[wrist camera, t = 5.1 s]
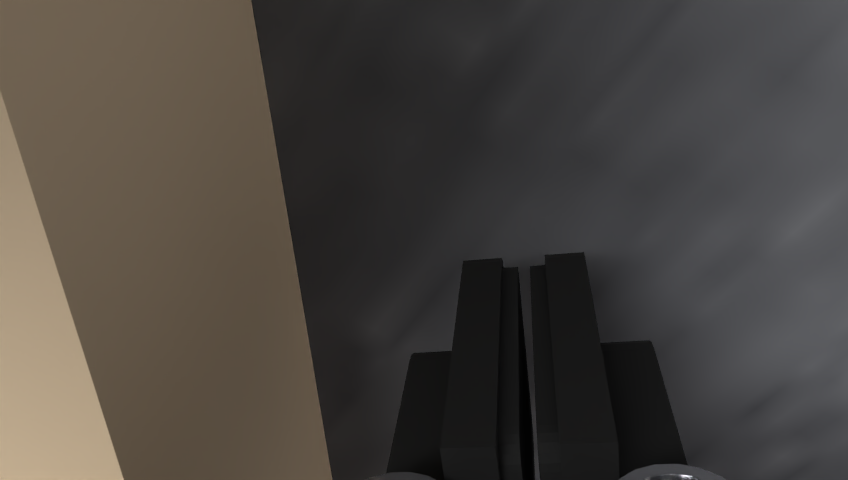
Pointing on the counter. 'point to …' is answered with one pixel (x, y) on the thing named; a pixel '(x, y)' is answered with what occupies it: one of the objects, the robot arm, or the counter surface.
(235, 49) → the kraft carton
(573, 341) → the robot arm
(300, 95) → the counter surface
